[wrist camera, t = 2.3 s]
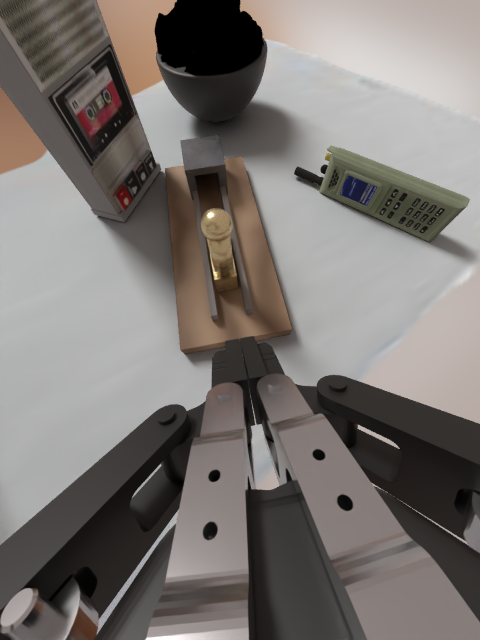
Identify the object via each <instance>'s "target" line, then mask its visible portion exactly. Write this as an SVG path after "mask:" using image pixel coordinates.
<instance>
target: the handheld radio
mask: <svg viewBox="0 0 480 640" xmlns="http://www.w3.org/2000/svg"><path fill="white" fill-rule="evenodd" d="M327 150H328V151H329V152H331V153H332V154H329V153H327V154H326V156H325V160H328V161H329V164H328V165H323V166H322V167H321V173H323V174H325V176H324V178H323V177H319V176H317V175H315V174H313V173H311V172H309V171H307V170H304V169H302V168H300V167H297V168H296V170H295V173H294V174H295V175H297V176H299V177H301V178H304V179H306V180H308V181H310V182H312V183H314V182H315V183H317V184H318V186H317V187H316V189H317V190H318V191H319V192H320V193H322V194H325V195H327V196H329V197H331V198H333V199H336V200H338V201H340V202H342V203H344V204H347V205H349V206H351V207H353V208H355V209H358V210H360V211H362V212H364V213H366V214H368V215H371V216H373V217H375V218H377V219H379V220H382V221H384V222H386V223H388V224H390V225H393V226H395V227H397V228H399V229H401V230H403V231H406V232H408V233H410V234H412V235H414V236H417V237H419V238H421V239H423V240H425V241H428V242H431V241H432V240H433V239H434V238H435V237H436V236H437V235H438V234H439V233H440V232H441V231H442V230H443V229H444V228H445V227H446V226H447V225H448V224H449V223H450V222H451V221H452V220H453V219H454V218H455V217H456V216H457V215H458V214H459V213H460V212H461V211H462V210H464V209H465V208H466V207H467V205H468V203H469V201H470V199H469V198H467V197H465V196H463V195H460V194H458V193H455V192H453V191H450V190H447V189H445V188H442V187H440V186H437V185H435V184H432V183H429V182H427V181H424V180H422V179H419V178H417V177H414V176H411V175H409V174H406V173H404V172H401V171H399V170H396V169H393V168H391V167H388V166H386V165H383V164H381V163H378V162H375V161H373V160H370V159H368V158H365V157H363V156H360V155H357V154H355V153H352V152H350V151H347V150H345V149H342V148H337V147H334V146H330V147H329V148H328V149H327Z"/></svg>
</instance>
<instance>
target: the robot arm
mask: <svg viewBox="0 0 480 640" xmlns="http://www.w3.org/2000/svg"><path fill="white" fill-rule="evenodd" d="M240 342H241V346H240ZM240 342H239V338H238V339H232V340H227V341H225V346H226V350H224V351H219V352H216V353H215V355H214V356H213V358H212V389H211V390H210V391H209V392H208V394H207V396H206V401H205V402H204V403H203V404H201V405H200V406H198V407H196V408H193V409H191V410H189V411H186V409H185V408H184V407H183V406H181V405H176V404H175V405H168V406H165V407H163V408H161V409H159V410H157V411H156V412H155V413H153V414H152V415H151V416H150V417H149V418H148V419H146V420H145V421H144V422H143V423H142V424H141V425H139V426H138V427H137V428H136V429H135V430H134V431H132V432H131V433H130V434H129V435H128V436H127V437H126V438H124V439H123V440H122V441H121V442H120V443H119V444H117V445H116V446H115V447H114V448H113V449H112V450H110V451H109V452H108V453H107V454H106V455H105V456H103V457H102V458H101V459H100V460H99V461H98V462H97V463H95V464H94V465H93V466H92V467H91V468H90V469H88V470H87V471H86V472H85V473H84V474H83V475H81V476H80V477H79V478H78V479H77V480H76V481H74V482H73V483H72V484H71V485H70V486H69V487H68V488H66V489H65V490H64V491H63V492H62V493H61V494H59V495H58V496H57V497H56V498H55V499H54V500H52V501H51V502H50V503H49V504H48V505H47V506H45V507H44V508H43V509H42V510H41V511H40V512H39V513H37V514H36V515H35V516H34V517H33V518H32V519H30V520H29V521H28V522H27V523H26V524H25V525H23V526H22V527H21V528H20V529H19V530H18V531H16V532H15V533H14V534H13V535H12V536H11V537H10V538H8V539H7V540H6V541H5V542H4V543H3V544H1V545H0V640H480V424H478V423H475V422H473V421H470V420H467V419H464V418H461V417H458V416H455V415H452V414H450V413H447V412H444V411H441V410H438V409H436V408H432V407H430V406H427V405H424V404H421V403H419V402H416V401H413V400H410V399H407V398H404V397H401V396H398V395H396V394H393V393H390V392H387V391H384V390H382V389H379V388H376V387H373V386H370V385H367V384H364V383H362V382H359V381H356V380H353V379H350V378H347V377H344V376H340V375H329V376H325V377H323V378H321V379H320V380H319V381H318V383H317V387H314V386H301V385H297V384H294V382H293V381H292V379H291V378H290V377H288V376H286V375H285V374H284V372H283V370H282V367H281V365H280V363H279V361H278V359H277V357H276V355H275V353H274V351H273V348H272V347H271V346H269V345H268V344H266V343H263V344H257V343H256V340H255V338H254V336H249V337H243V338H240ZM241 348H242V351H241ZM242 354H243V356H242ZM243 359H244V360H243ZM249 390H250V391H249ZM250 395H251V397H250ZM251 400H252V403H251ZM252 404H253V409H254V414H255V419H256V423H257V425H258V424H262V426H263V431H264V437H265V442H266V445H267V448H268V451H269V454H270V458H271V461H272V464H273V467H274V470H275V473H276V476H277V479H278V482H279V485H280V486H279V487H277V488H275V489H273V490H257V489H256V483H255V471H254V459H253V447H252V440H251V439H252V430H251V426H253V425H255V421H254V415H253V409H252ZM358 425H360V426H362V427H365V428H367V429H369V430H371V431H373V432H375V433H377V434H379V435H382V436H383V437H385V438H387V439H390V440H391V441H393V442H394V443H395V444H396V445H397V446H398V447H399V448H400V449H398V448H396V447H394V446H392V445H389V444H387V443H385V442H383V441H381V440H379V439H377V438H375V437H373V436H371V435H369V434H367V433H365V432H363V431H361V430H359V429H357V428H358ZM160 464H161V465H162V466H161V467H160V468H159V469H158V470H157V472H156V473H155V474H154V475H153V476H152V477H151V478H150V479H149V480H148V482H147V483H146V484H145V485H144V486H143V487H142V488H141V489H140V490H139V491H138V493H137V494H136V495H135V496H134V497H133V498H132V496H133V494H134V493H135V491H136V490H137V489H138V488H139V486H140V485H141V484H142V483H143V482H144V481H145V480H146V479H147V478H148V477H149V476H150V474H151V473H152V472H153V471H154V470H155V469H156V468H157V467H158V466H159V465H160ZM372 483H373V484H375V485H376V486H378V487H380V488H381V489H383V490H384V491H383V490H381V489H379V488H377V487H375V486H373V485H372ZM385 491H386V492H385ZM387 492H388V493H387ZM390 494H391V495H390ZM393 496H394V497H393ZM395 497H396V498H397V499H396V498H395ZM398 499H399V500H398ZM401 501H402V502H401ZM403 502H404V503H405V504H404V503H403ZM406 504H407V505H409V506H410V507H412V508H413V509H415V510H417V511H418V512H420V513H421V514H423V515H425V516H426V517H428V518H429V519H431V520H433V521H434V522H436V523H438V524H439V525H441V526H442V527H444V528H445V529H447V530H449V531H450V532H452V533H454V534H455V535H457V536H458V537H460V538H462V539H463V540H465V541H466V542H467V544H468V545H467V544H465V543H463V542H462V541H460V540H459V539H457V538H456V537H454V536H453V535H451V534H450V533H448V532H447V531H445V530H443V529H442V528H440V527H439V526H438V525H436V524H435V523H433V522H432V521H430V520H428V519H427V518H425V517H424V516H422V515H421V514H419V513H418V512H416V511H415V510H413V509H412V508H410V507H409V506H407V505H406ZM178 509H179V512H178V518H177V523H176V524H175V525H174V526H173V527H172V528H171V529H170V530H169V531H168V532H167V534H166V535H165V536H164V537H163V539H162V540H161V541H160V542H159V544H158V545H157V547H156V548H155V550H154V551H153V553H152V554H151V555H150V557H149V558H148V560H147V561H146V563H145V564H144V566H143V567H142V569H141V570H140V572H139V573H138V575H137V576H136V578H135V579H134V581H133V582H132V584H131V585H130V587H129V588H128V590H127V591H126V593H125V594H124V595H123V597H122V598H121V600H120V601H119V603H118V604H117V606H116V607H115V609H114V610H113V612H112V613H111V615H110V616H109V618H108V619H107V621H106V622H105V624H104V625H103V627H102V628H101V630H100V631H99V633H98V634H97V630H98V621H99V618H100V617H101V616H102V614H103V613H104V611H105V610H106V609H107V607H108V606H109V605H110V603H111V602H112V600H113V599H114V598H115V596H116V595H117V594H118V592H119V591H120V589H121V588H122V587H123V585H124V584H125V582H126V581H127V580H128V578H129V577H130V576H131V574H132V573H133V571H134V570H135V569H136V567H137V566H138V564H139V563H140V562H141V560H142V559H143V558H144V556H145V555H146V553H147V552H148V551H149V549H150V548H151V547H152V545H153V544H154V542H155V541H156V540H157V538H158V537H159V535H160V534H161V533H162V531H163V530H164V529H165V527H166V526H167V524H168V523H169V522H170V520H171V519H172V518H173V516H174V515H175V513H176V512H177V511H178ZM96 635H97V636H96Z"/></svg>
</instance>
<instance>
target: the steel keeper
mask: <svg viewBox="0 0 480 640" xmlns="http://www.w3.org/2000/svg"><path fill="white" fill-rule="evenodd" d="M181 148H182V156H183V163H184V170H185V174H186V178H187V182H188V186H189V190H190V194H191V197H192V200H194V198H193V191H197V190H198V187H197V181H196V176H197V175H204V174H210V173H216V174H217V179H218V184H219V188H220V187H222V186H225V189H226V193H227V195H228V187H227V176H226V165H225V161H224V156H223V152H222V148H221V144H220V140H219V136H218V135H214V136H207V137H201V138H194V139H187V140H181ZM220 193H221V191H220ZM198 195H199V193H198Z"/></svg>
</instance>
